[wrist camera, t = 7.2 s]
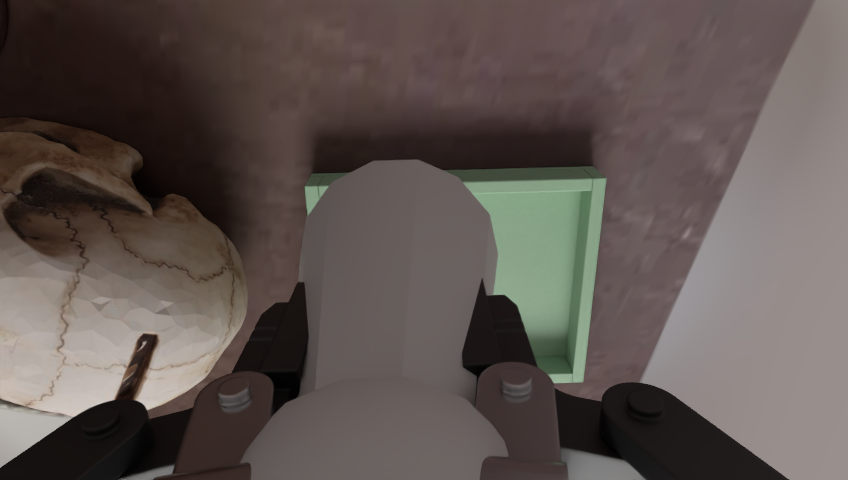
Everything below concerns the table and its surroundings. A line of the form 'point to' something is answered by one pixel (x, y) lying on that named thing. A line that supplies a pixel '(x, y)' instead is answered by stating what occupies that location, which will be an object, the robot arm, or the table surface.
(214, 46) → the table surface
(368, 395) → the salt shaker
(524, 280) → the tray
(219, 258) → the coin bank
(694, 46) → the table surface
